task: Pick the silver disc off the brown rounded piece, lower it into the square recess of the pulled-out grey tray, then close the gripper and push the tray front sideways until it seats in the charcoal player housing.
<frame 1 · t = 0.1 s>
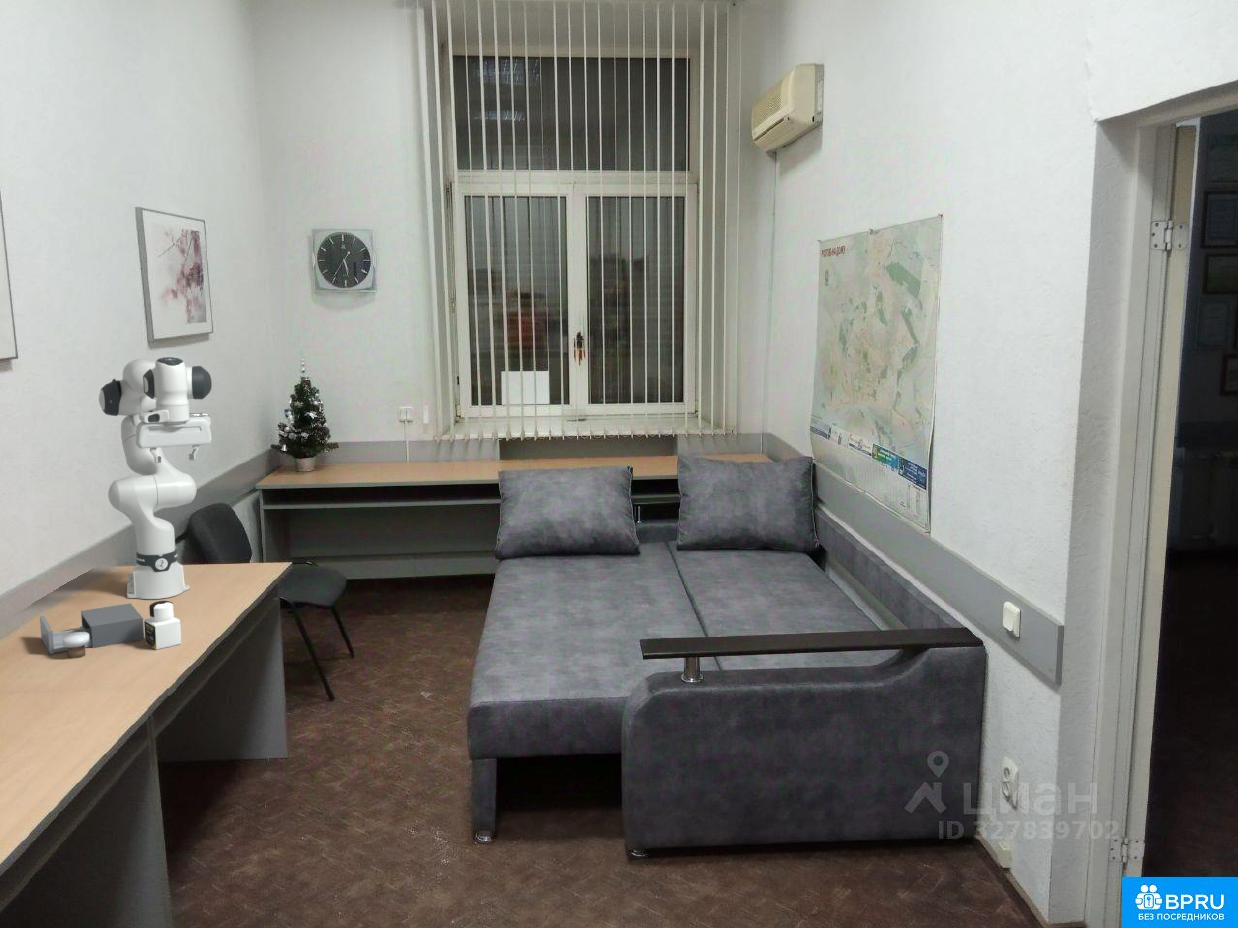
hand: (175, 461, 291), 48 cm above the table, fingers open, 8 cm apart
disc: (76, 643, 267), point 3 cm above the table, touching brown rounded piece
brown rounded piece: (77, 655, 268), on the table
housing: (113, 635, 284), on the table
tray: (71, 630, 277), point 3 cm above the table, slide at 9.0 cm
medicine bottle: (163, 644, 278), on the table
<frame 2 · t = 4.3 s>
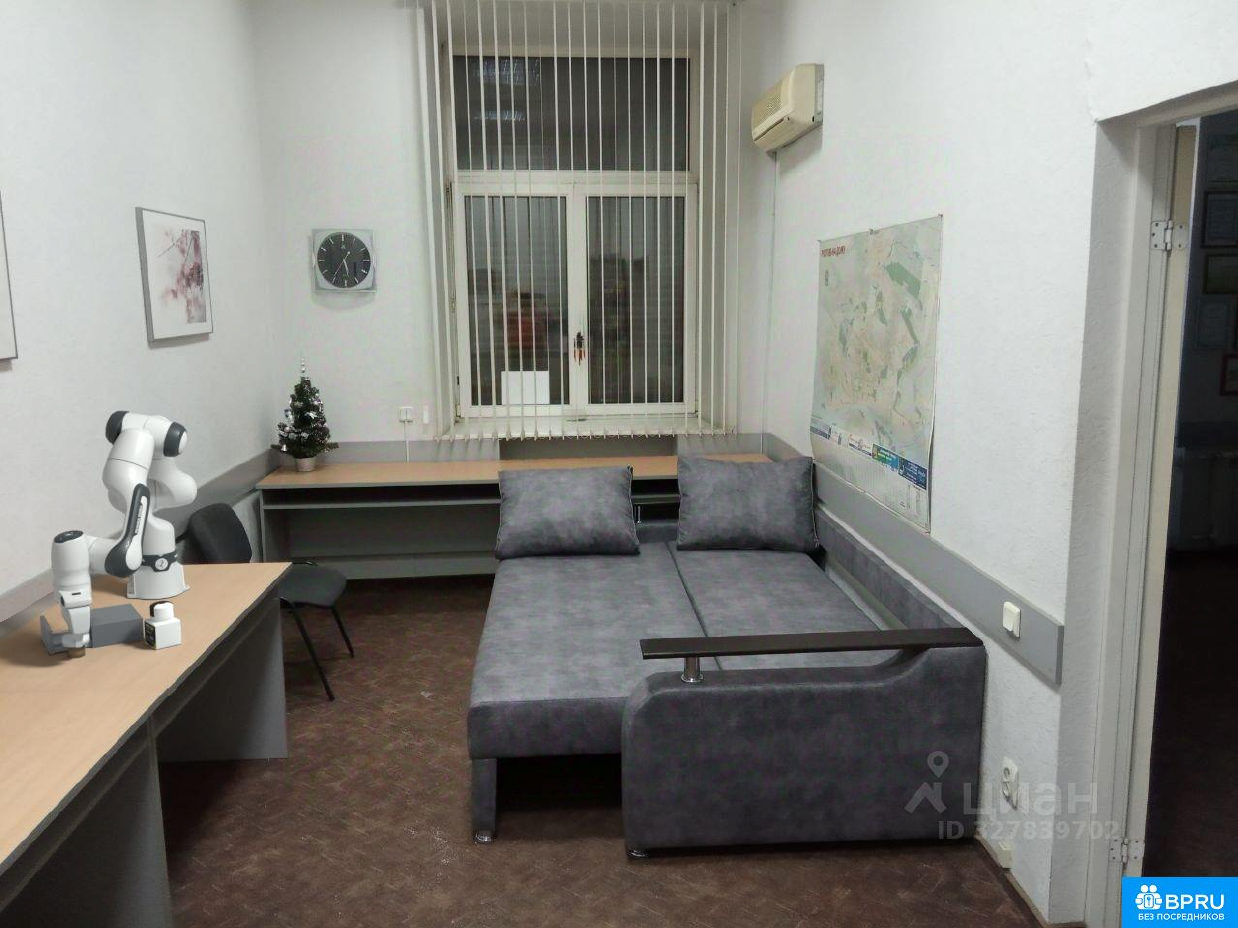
hand: (76, 642, 267), 4 cm above the table, fingers closed on disc, 6 cm apart
disc: (76, 643, 267), point 3 cm above the table, touching gripper, brown rounded piece
everything else where it was.
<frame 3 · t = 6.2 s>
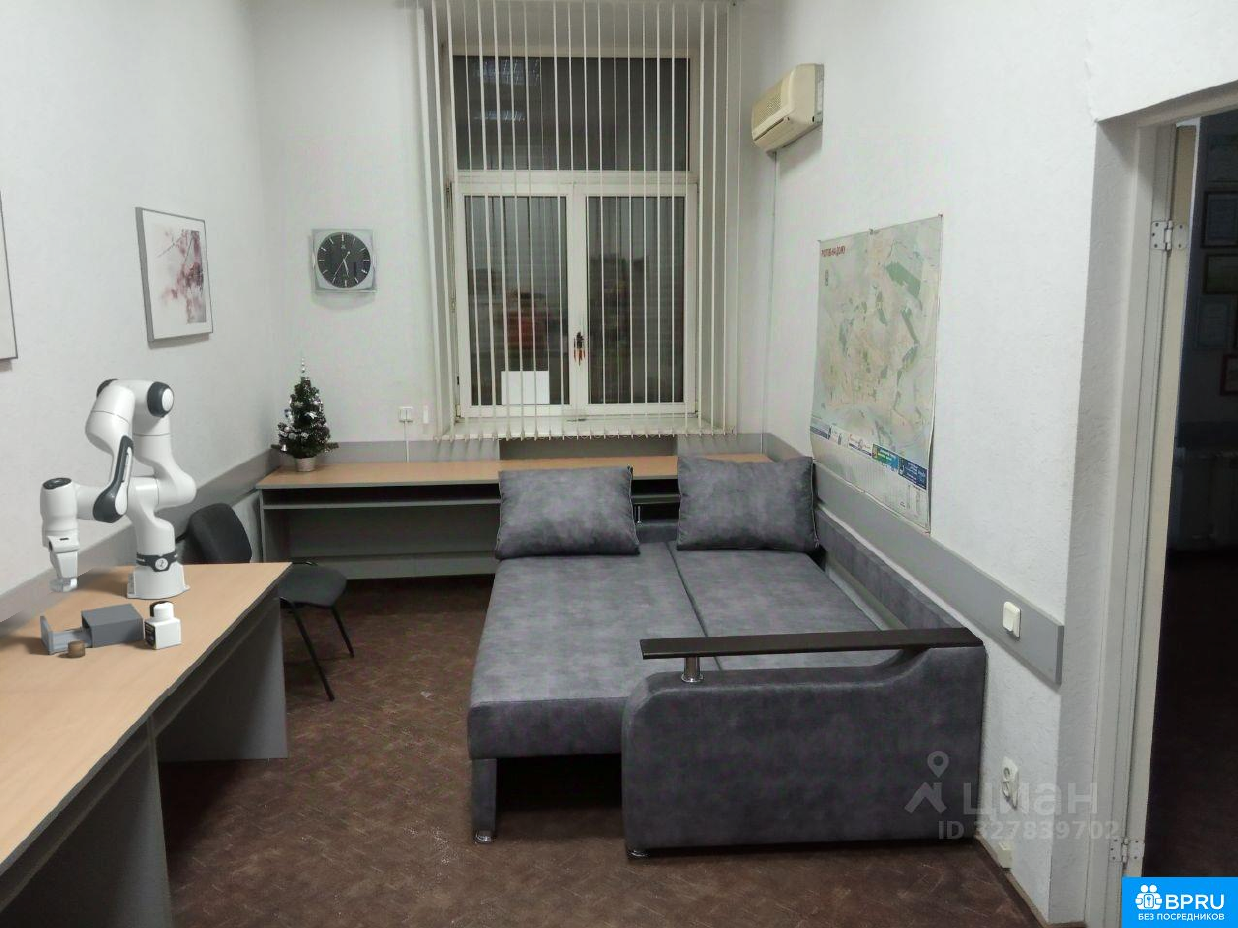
hand: (64, 586, 274), 16 cm above the table, fingers closed on disc, 6 cm apart
disc: (63, 587, 274), point 16 cm above the table, touching gripper
everything else where it was.
when the fingers open (3 cm above the table, at t = 8.5 s): disc drops 2 cm, resting on tray.
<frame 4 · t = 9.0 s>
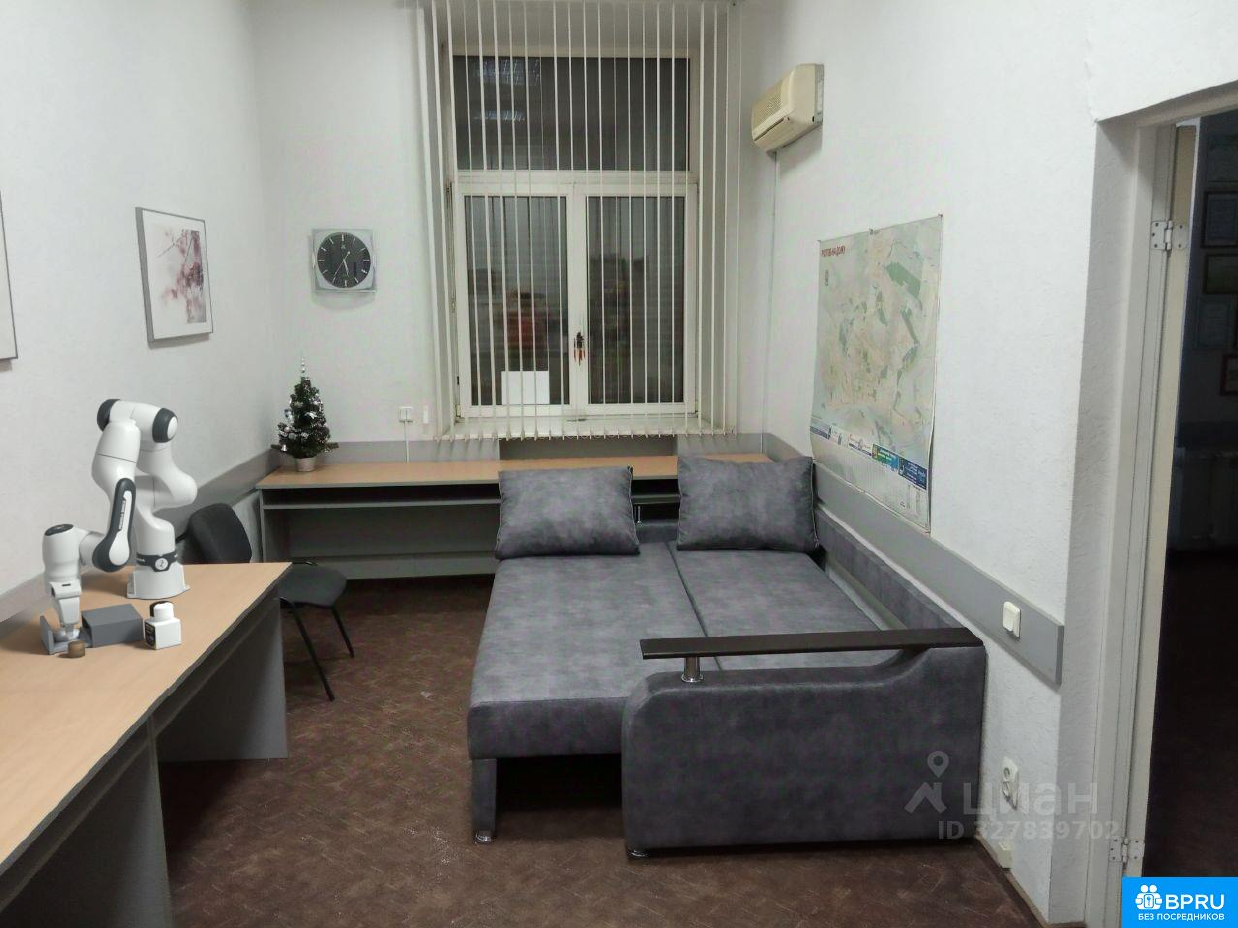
hand: (66, 631, 276), 3 cm above the table, fingers open, 8 cm apart
disc: (66, 638, 276), point 1 cm above the table, touching tray
tray: (71, 630, 277), point 3 cm above the table, slide at 9.0 cm, touching disc
everything else where it was.
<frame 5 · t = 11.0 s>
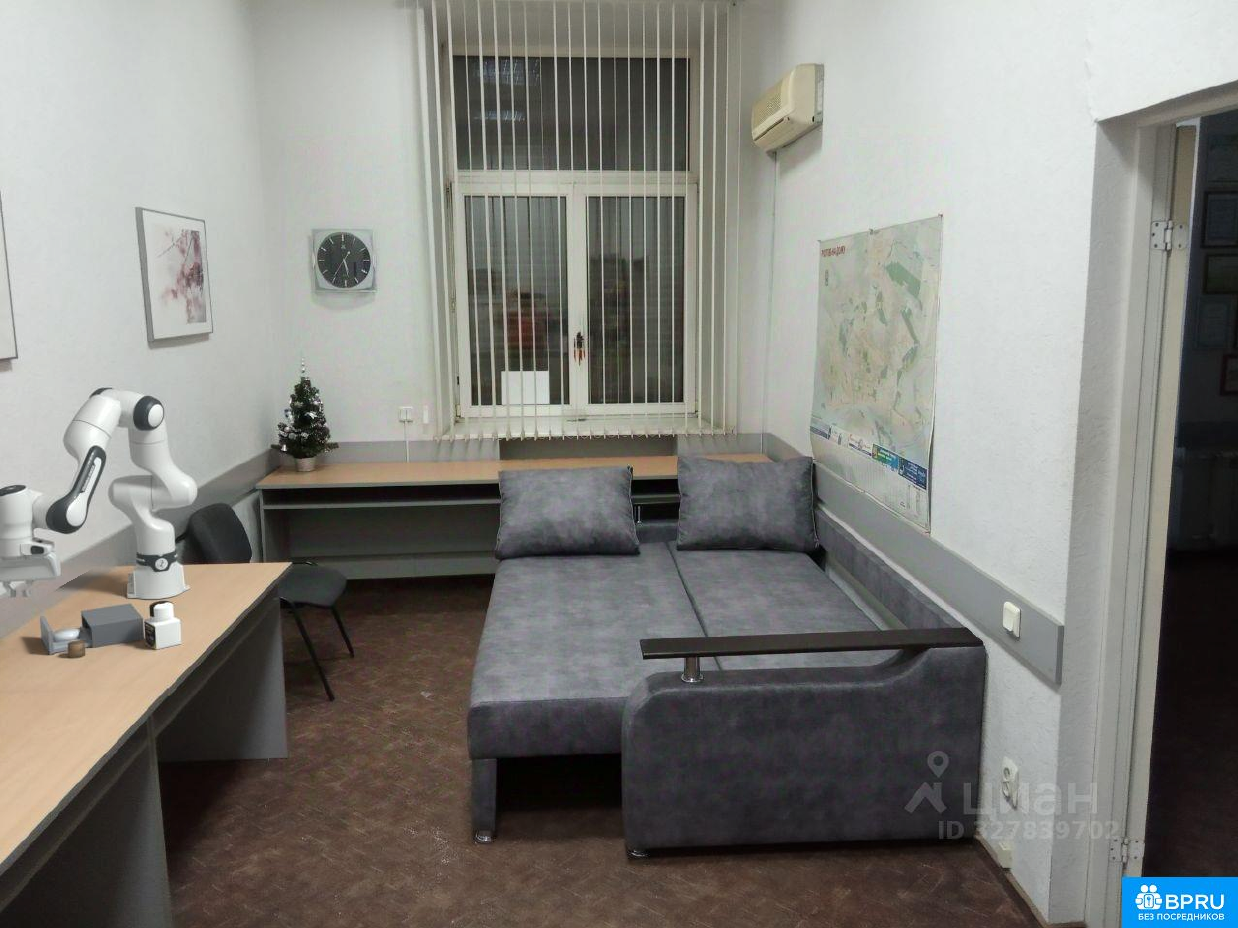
hand: (19, 596, 268), 15 cm above the table, fingers closed
nothing on the table moved.
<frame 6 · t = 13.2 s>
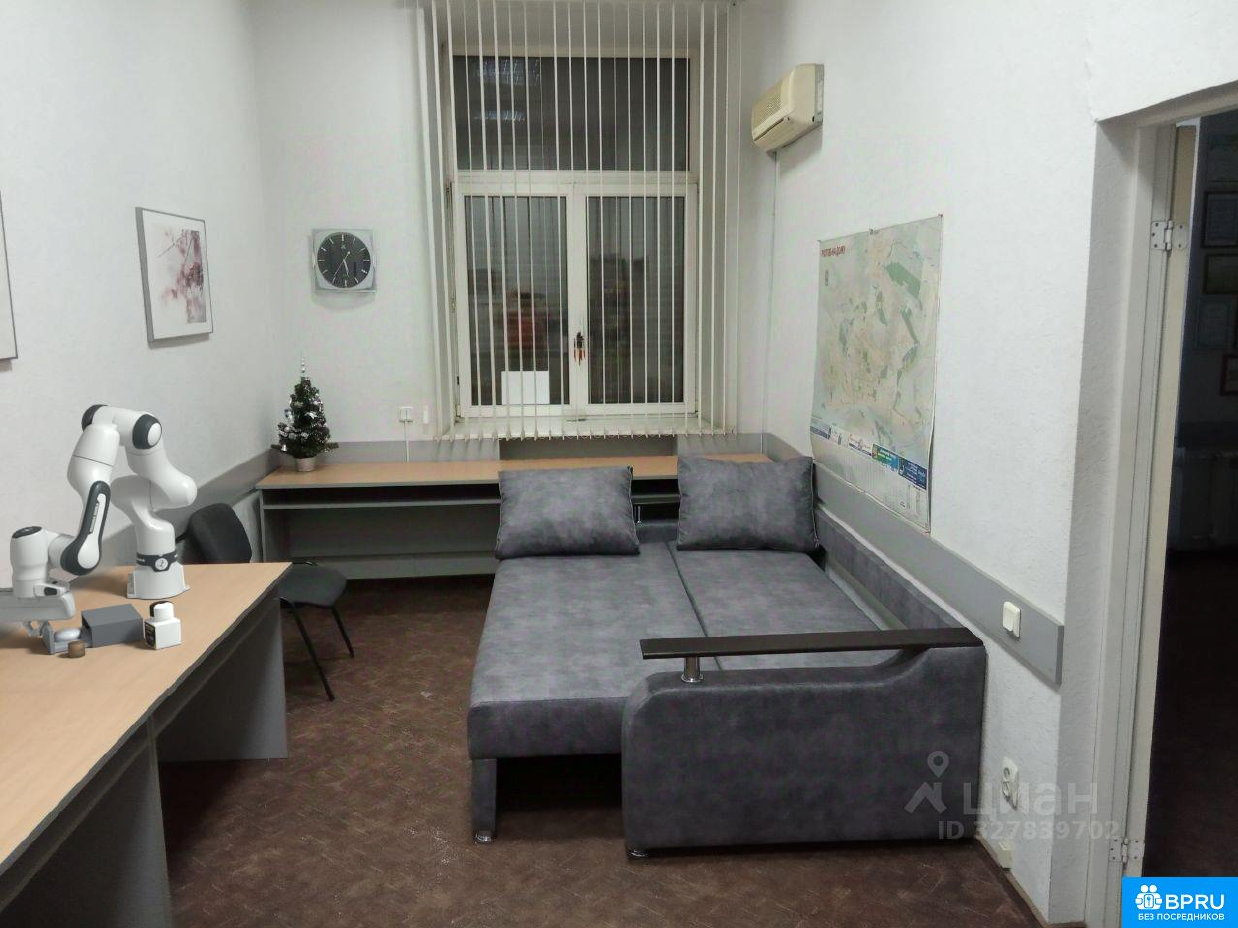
hand: (35, 635, 272), 3 cm above the table, fingers closed
tray: (72, 630, 277), point 3 cm above the table, slide at 8.7 cm, touching disc, gripper
everything else where it was.
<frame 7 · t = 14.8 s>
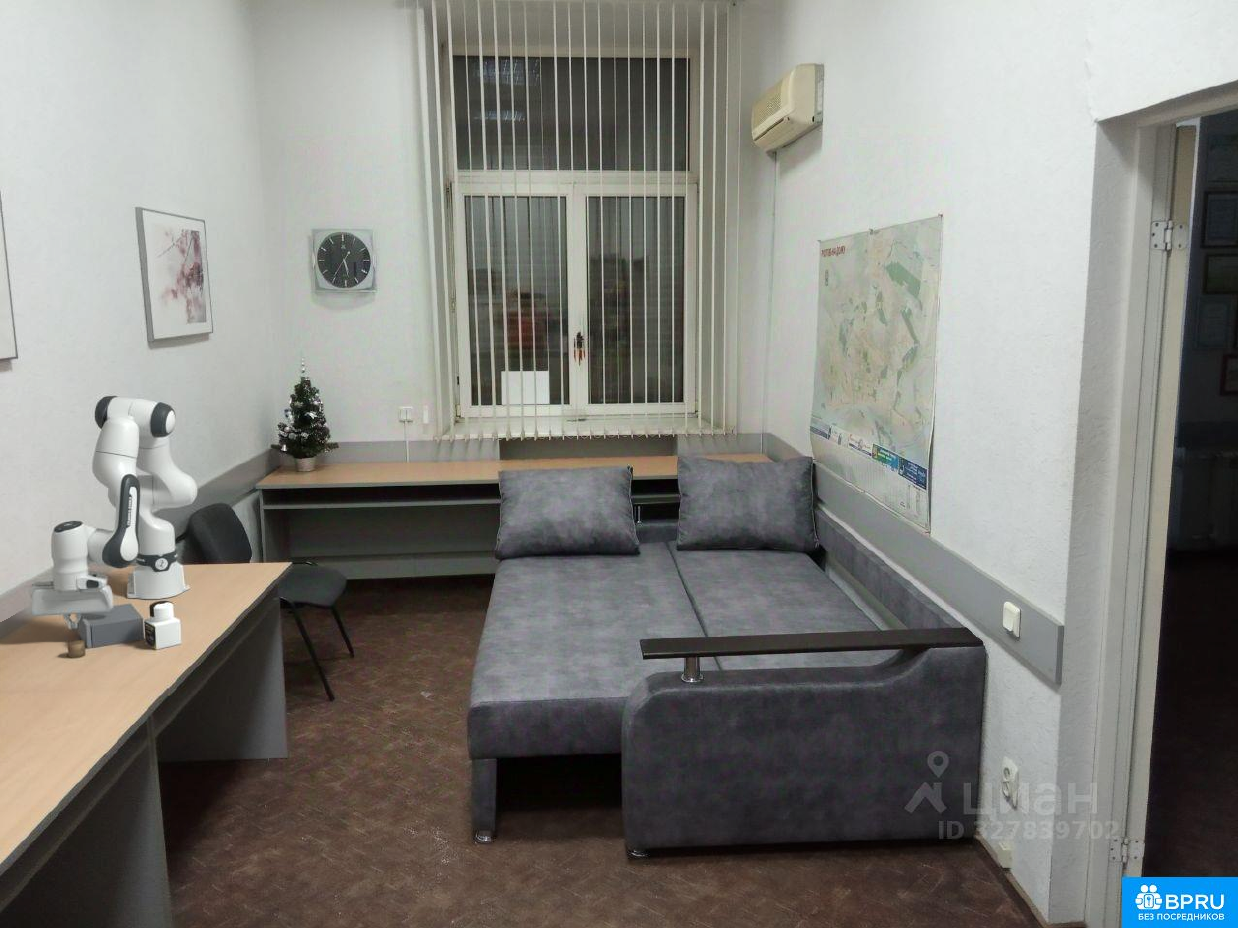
hand: (73, 628, 277), 4 cm above the table, fingers closed
disc: (103, 632, 282), point 1 cm above the table, touching tray
tray: (107, 624, 282), point 3 cm above the table, slide at -0.1 cm, touching disc, gripper
everything else where it was.
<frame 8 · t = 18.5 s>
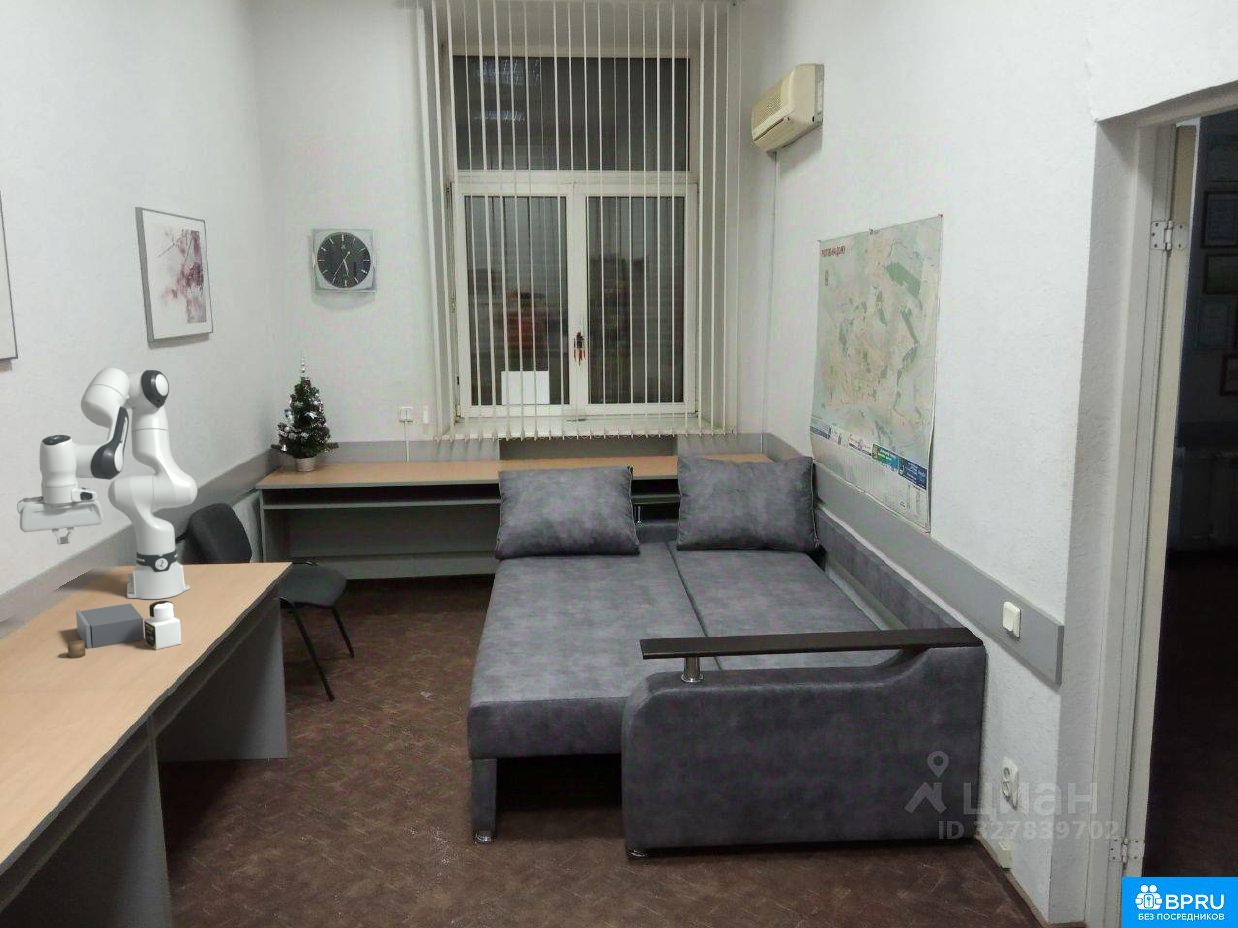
hand: (63, 543, 277), 27 cm above the table, fingers closed
tray: (107, 624, 282), point 3 cm above the table, slide at 0.0 cm, touching disc
everything else where it was.
at the end: tray slide at 0.0 cm; disc inside the target area on the housing (2.5 cm from its centre), point 1.2 cm above the housing's base; disc tilted 1° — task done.
